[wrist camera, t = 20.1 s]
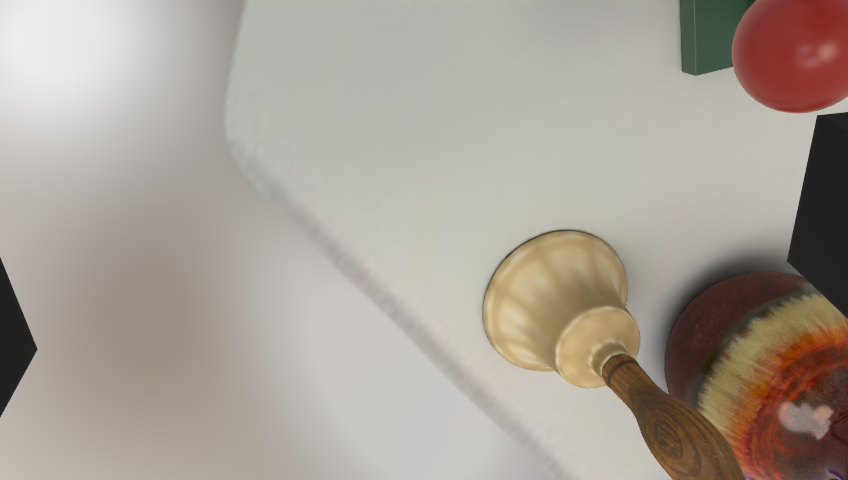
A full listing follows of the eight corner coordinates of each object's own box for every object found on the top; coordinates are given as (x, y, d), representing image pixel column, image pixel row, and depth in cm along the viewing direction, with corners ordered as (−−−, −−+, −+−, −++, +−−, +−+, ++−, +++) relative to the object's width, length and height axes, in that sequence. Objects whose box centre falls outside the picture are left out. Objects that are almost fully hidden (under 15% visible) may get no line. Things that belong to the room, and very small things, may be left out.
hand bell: (629, 219, 39) (858, 382, 25) (621, 354, 43) (820, 566, 28) (480, 241, 38) (632, 427, 23) (483, 379, 41) (619, 618, 27)
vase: (795, 218, 42) (1075, 358, 28) (819, 367, 47) (1069, 550, 33) (620, 301, 41) (819, 487, 27) (663, 444, 46) (850, 664, 32)
